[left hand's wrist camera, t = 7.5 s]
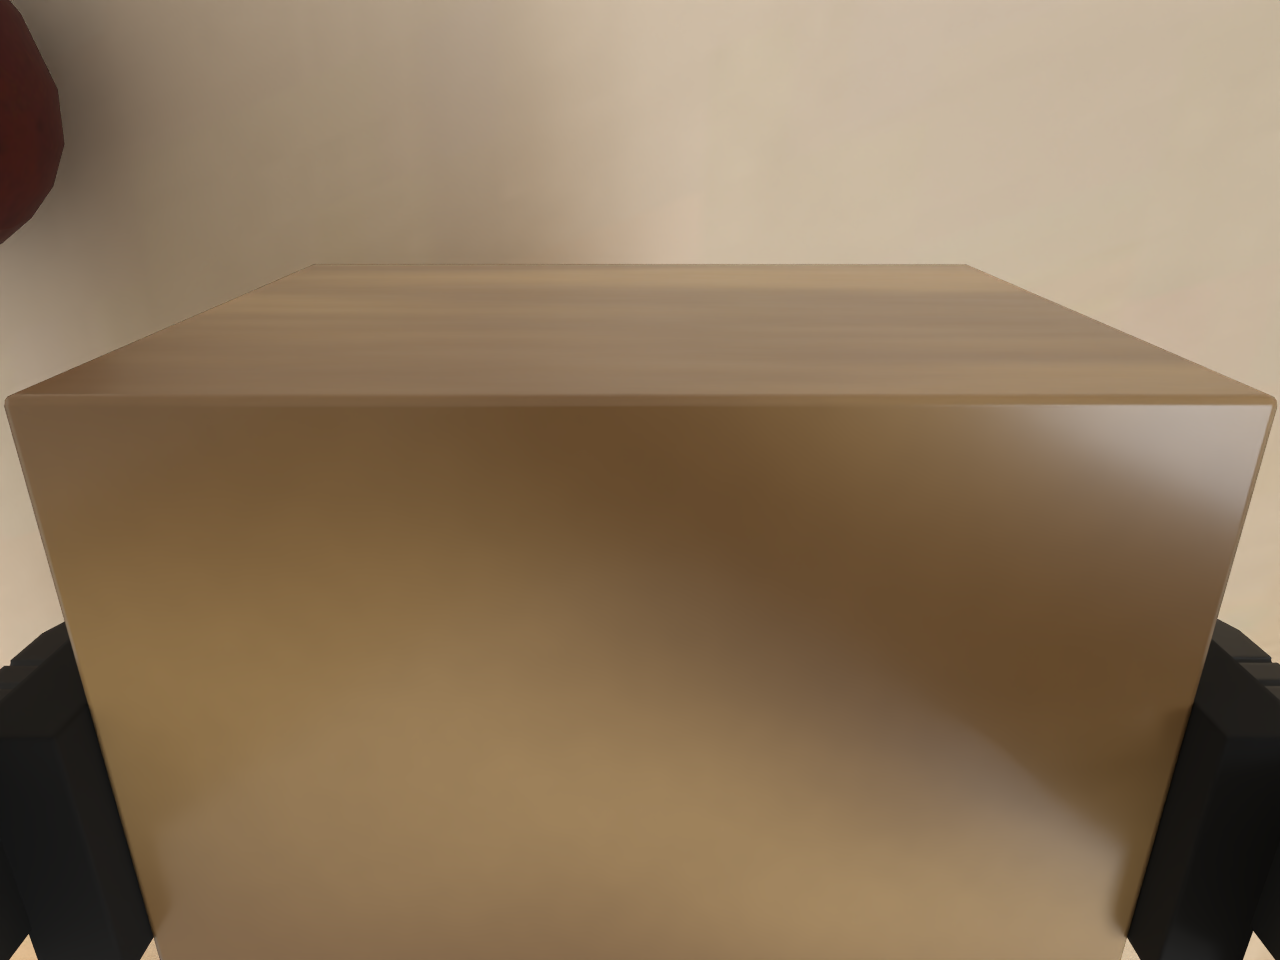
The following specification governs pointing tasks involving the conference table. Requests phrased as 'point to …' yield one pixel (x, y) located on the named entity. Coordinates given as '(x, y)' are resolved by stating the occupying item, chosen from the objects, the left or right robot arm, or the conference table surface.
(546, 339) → the slab
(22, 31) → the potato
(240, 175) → the conference table surface
